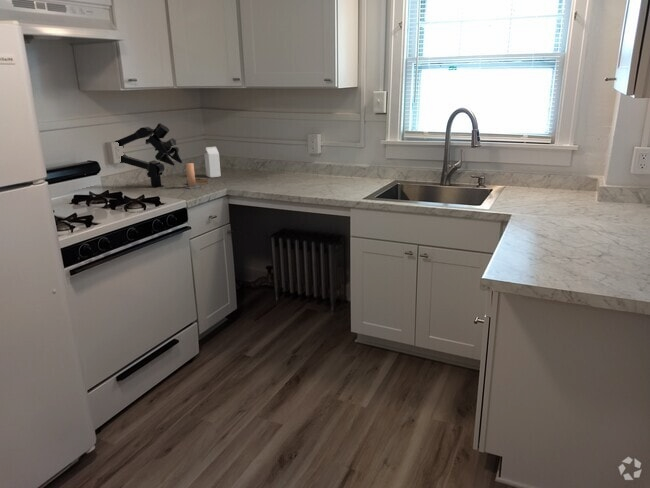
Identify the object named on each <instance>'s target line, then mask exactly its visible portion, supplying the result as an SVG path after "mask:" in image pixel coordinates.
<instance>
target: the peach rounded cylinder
mask: <svg viewBox="0 0 650 488" xmlns="http://www.w3.org/2000/svg"><path fill="white" fill-rule="evenodd" d="M185 168H186V182H187V181H188V184H187V186H188V187H194V186H196V182H195V178H196V173H195V163H194V162H188V163H185Z"/></svg>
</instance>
